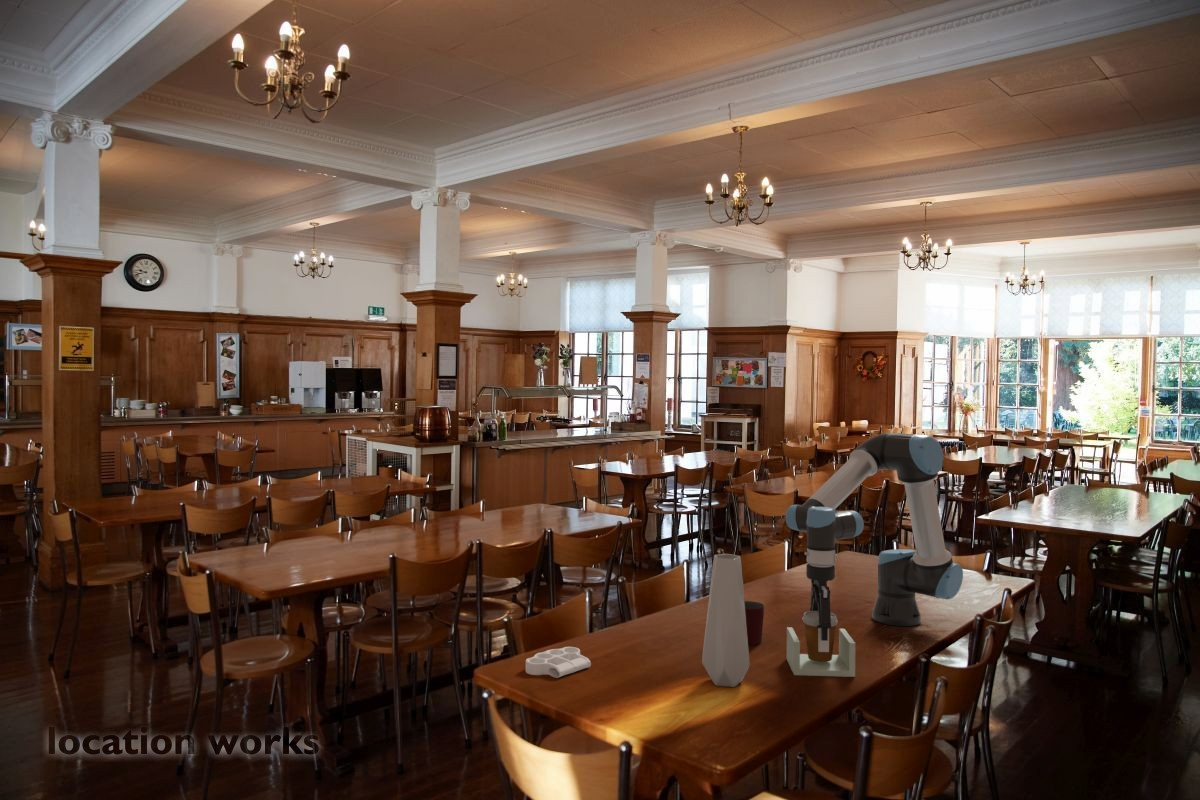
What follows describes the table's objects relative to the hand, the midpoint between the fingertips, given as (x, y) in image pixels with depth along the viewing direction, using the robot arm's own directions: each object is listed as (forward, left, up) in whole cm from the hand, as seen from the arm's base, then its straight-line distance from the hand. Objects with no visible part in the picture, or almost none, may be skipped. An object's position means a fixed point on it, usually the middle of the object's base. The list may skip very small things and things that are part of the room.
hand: (820, 645), depth 224 cm
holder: (0, 0, -6) cm, 6 cm away
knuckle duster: (+72, +6, -7) cm, 72 cm away
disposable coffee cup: (0, 0, -4) cm, 4 cm away
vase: (+26, +14, -6) cm, 30 cm away
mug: (+18, -20, -6) cm, 28 cm away
